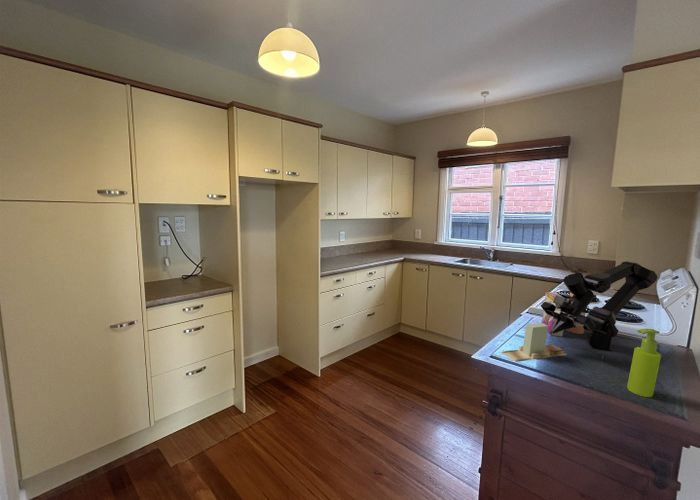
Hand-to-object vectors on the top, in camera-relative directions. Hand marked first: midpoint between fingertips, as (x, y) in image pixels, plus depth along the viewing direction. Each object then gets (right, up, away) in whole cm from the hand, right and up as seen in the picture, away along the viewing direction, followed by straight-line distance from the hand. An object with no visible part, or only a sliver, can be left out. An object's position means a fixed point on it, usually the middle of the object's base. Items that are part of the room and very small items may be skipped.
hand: (551, 332), depth 118 cm
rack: (-7, -8, -1) cm, 11 cm away
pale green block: (-8, -7, -1) cm, 11 cm away
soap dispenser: (+13, -13, -21) cm, 28 cm away
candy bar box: (+14, -5, +22) cm, 27 cm away
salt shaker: (+25, -5, +24) cm, 35 cm away
